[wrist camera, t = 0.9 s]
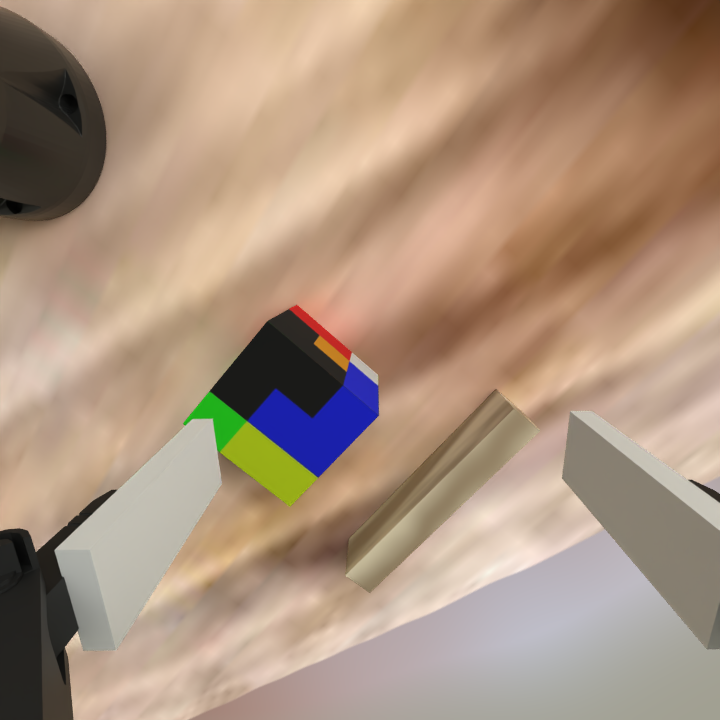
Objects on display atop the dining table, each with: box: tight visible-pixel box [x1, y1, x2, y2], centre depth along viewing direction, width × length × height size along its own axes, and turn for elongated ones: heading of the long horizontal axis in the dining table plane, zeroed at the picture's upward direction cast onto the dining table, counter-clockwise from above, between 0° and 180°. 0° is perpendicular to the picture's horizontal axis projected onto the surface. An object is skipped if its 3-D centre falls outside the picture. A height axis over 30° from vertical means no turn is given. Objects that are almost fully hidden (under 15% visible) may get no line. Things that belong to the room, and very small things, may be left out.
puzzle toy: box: [183, 305, 379, 506], centre depth 33 cm, size 10×10×10 cm
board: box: [345, 389, 540, 593], centre depth 37 cm, size 3×22×5 cm, turn 140°
